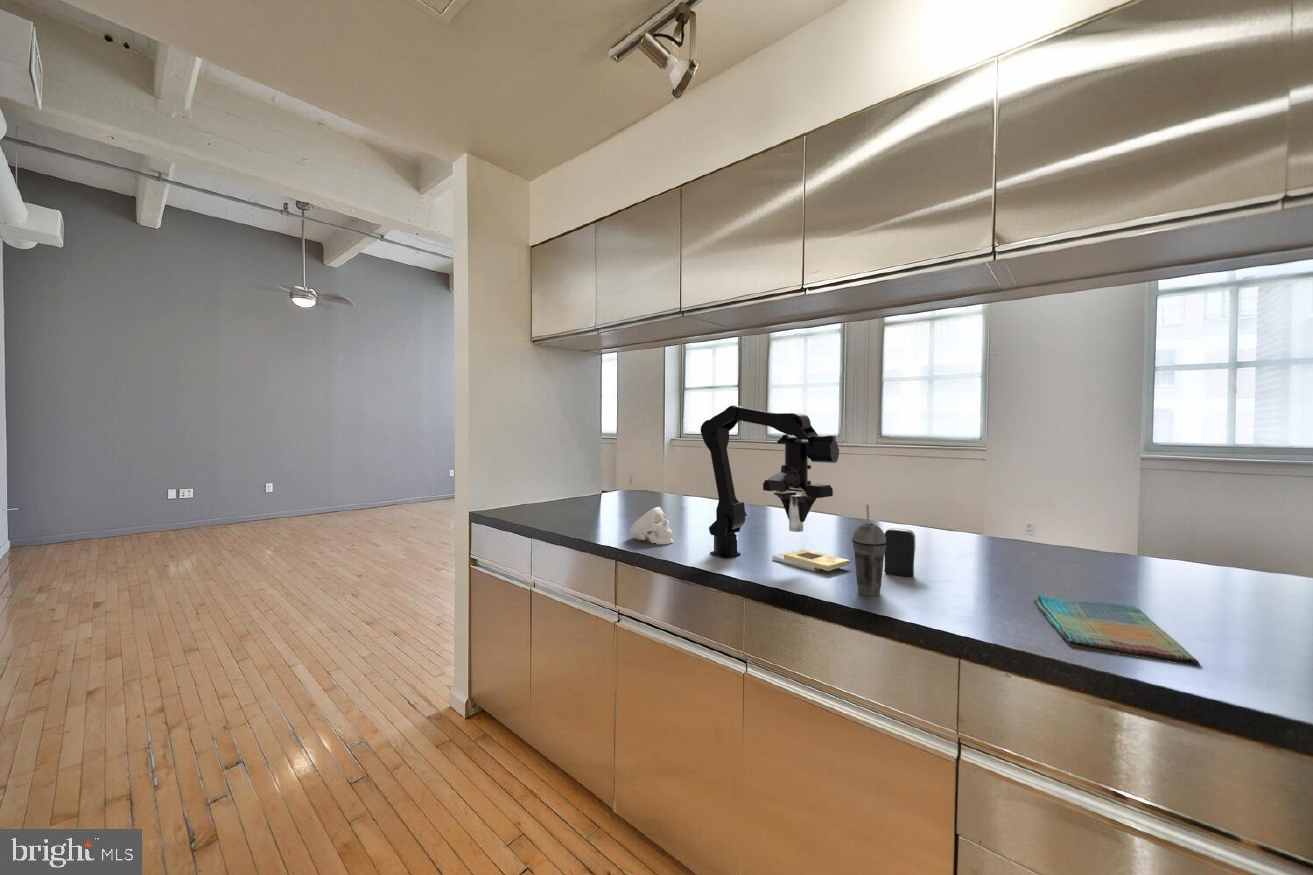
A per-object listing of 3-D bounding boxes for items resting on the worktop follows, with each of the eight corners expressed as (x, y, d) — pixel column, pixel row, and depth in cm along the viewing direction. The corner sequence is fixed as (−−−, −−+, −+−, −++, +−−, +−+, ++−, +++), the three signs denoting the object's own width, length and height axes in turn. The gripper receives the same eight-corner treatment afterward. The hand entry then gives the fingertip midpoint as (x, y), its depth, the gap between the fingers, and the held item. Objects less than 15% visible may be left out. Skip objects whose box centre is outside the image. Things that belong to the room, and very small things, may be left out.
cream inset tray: (772, 559, 139) (772, 551, 139) (793, 554, 145) (793, 546, 145) (828, 575, 125) (828, 566, 125) (849, 569, 130) (849, 560, 130)
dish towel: (1139, 617, 99) (1139, 604, 99) (1203, 670, 78) (1204, 654, 78) (1032, 604, 106) (1032, 592, 106) (1064, 649, 85) (1065, 635, 85)
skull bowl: (667, 543, 154) (649, 508, 157) (637, 561, 160) (620, 527, 164) (685, 536, 162) (668, 503, 165) (655, 554, 169) (639, 521, 172)
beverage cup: (891, 592, 113) (892, 503, 112) (879, 600, 107) (880, 507, 107) (858, 585, 118) (859, 500, 117) (846, 593, 112) (846, 504, 112)
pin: (786, 530, 131) (786, 495, 131) (795, 528, 134) (795, 494, 133) (797, 532, 129) (797, 497, 128) (806, 530, 131) (806, 496, 130)
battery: (916, 574, 126) (916, 529, 125) (914, 578, 122) (914, 531, 122) (886, 569, 130) (886, 526, 129) (883, 573, 126) (883, 528, 126)
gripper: (748, 460, 134) (748, 518, 134) (804, 465, 118) (804, 530, 119) (777, 458, 140) (777, 514, 140) (834, 462, 125) (834, 525, 125)
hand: (796, 520), depth 131 cm, fingers closed on pin, 4 cm apart
